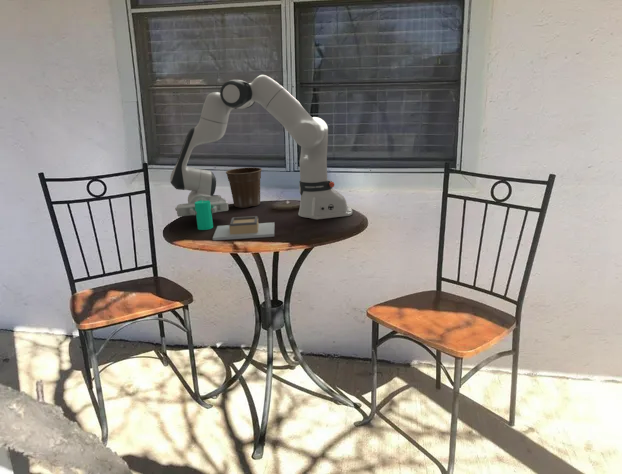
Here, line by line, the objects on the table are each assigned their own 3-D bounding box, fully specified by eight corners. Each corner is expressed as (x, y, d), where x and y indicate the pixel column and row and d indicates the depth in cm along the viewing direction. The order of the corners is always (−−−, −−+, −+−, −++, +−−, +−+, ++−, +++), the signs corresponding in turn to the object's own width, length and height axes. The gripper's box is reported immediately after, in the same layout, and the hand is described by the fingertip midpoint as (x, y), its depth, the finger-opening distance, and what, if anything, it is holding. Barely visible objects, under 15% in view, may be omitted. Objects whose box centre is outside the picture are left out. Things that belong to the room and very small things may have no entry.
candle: (209, 230, 194) (206, 199, 191) (195, 230, 196) (191, 199, 192) (215, 225, 200) (212, 196, 197) (201, 225, 201) (197, 196, 198)
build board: (274, 224, 197) (273, 212, 196) (274, 236, 182) (273, 223, 181) (217, 228, 196) (216, 216, 195) (212, 240, 181) (211, 227, 180)
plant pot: (224, 209, 227) (220, 173, 222) (234, 201, 242) (231, 167, 237) (259, 208, 224) (256, 172, 220) (267, 200, 239) (265, 166, 235)
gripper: (173, 200, 204) (175, 207, 191) (224, 194, 210) (229, 201, 197) (175, 215, 206) (178, 223, 193) (225, 209, 212) (231, 216, 199)
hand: (204, 212), depth 195 cm, fingers closed on candle, 5 cm apart
